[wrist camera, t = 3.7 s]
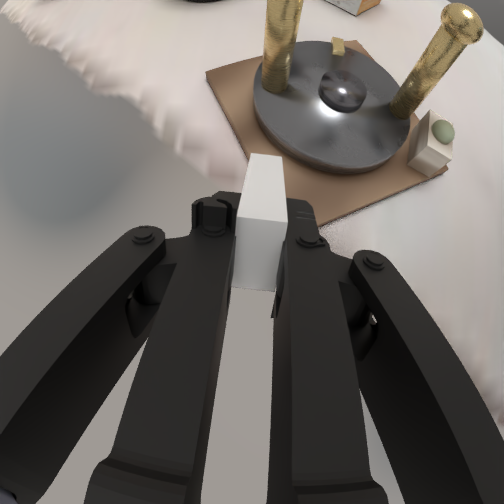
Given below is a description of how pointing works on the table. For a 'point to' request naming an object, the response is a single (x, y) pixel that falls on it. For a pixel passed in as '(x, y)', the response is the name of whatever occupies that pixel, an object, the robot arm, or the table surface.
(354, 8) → the small box
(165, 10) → the table surface
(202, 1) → the pen holder
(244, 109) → the stand
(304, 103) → the brass post metal stand
